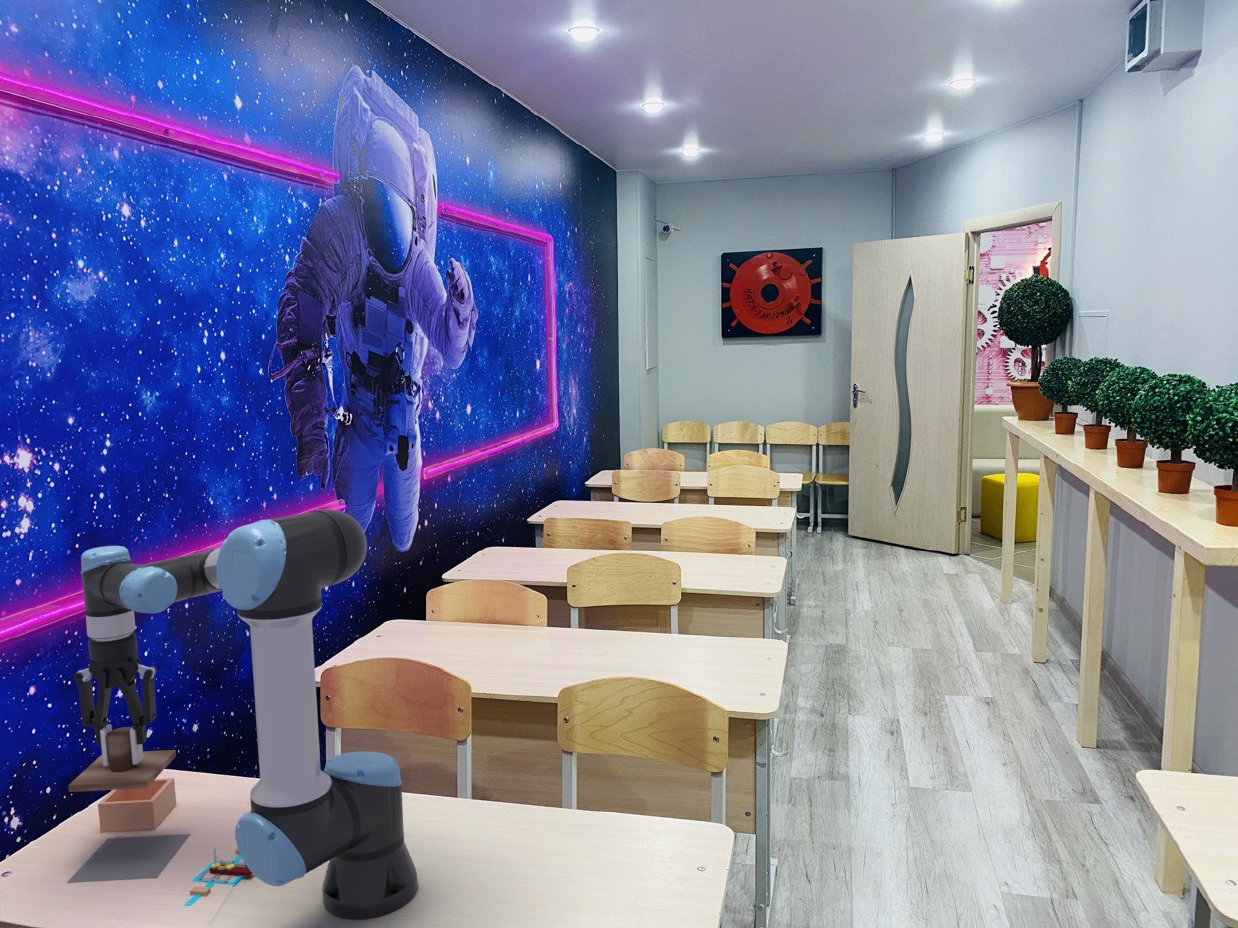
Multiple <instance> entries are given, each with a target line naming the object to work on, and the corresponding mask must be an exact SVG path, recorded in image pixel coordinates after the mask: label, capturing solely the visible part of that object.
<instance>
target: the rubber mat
mask: <svg viewBox="0 0 1238 928" xmlns="http://www.w3.org/2000/svg"><path fill="white" fill-rule="evenodd" d="M190 836H191V833H181V834H166V835H165V834H162V835H145V836H144V835H143V836H127V837H126V836H125V837H124V836H123V837H121V836H120V837H108V838H107V839H106V840H105V841H104V842H103V843H102V844H101V845H100V846H99V847H98V848H97V849H96V850H95V852H94V853H93V854H92V855H91V856H90V857H89V858H88V859H87V860H86V861H85V862H84V863H83V864H82V866H81V867H79V869H77V871H76V872H75V873H74V874H73V875H72V876H71V877H70V878H69V879H68V880H67V882H66V884H72V883H76V884H77V883H90V882H95V883H96V882H109V881H110V882H111V881H128V880H129V881H130V880H131V881H132V880H146V879H149V880H150V879H158V877H159V876H160V875H161V873H163V871H164V870H165V868H166V867H167V866H168V864H169V863H170V862H171V861H172V859H174V857H175V856H176V854H177V852H178V851H179V850H180V849H181V848H182V847H183V845H184V844H185V842H187V840H188V838H189V837H190Z"/></svg>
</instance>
